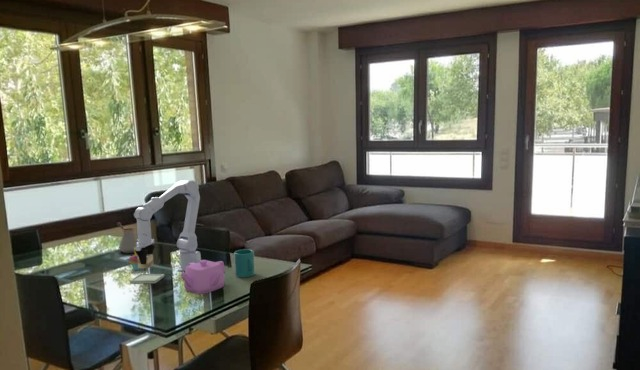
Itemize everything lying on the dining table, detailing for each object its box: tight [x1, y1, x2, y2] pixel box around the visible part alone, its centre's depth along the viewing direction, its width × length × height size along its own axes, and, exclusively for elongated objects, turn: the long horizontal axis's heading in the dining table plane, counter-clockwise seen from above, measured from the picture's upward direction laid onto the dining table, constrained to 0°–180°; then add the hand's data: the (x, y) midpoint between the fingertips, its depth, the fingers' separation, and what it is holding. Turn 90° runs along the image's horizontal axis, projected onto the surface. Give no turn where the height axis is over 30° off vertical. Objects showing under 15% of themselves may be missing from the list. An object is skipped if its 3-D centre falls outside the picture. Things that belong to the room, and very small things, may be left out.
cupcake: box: [128, 247, 144, 271], centre depth 235 cm, size 9×8×12 cm
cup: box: [233, 248, 256, 279], centre depth 220 cm, size 9×12×11 cm
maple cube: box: [137, 253, 155, 269], centre depth 217 cm, size 5×5×5 cm
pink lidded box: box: [180, 259, 226, 296], centre depth 204 cm, size 17×17×12 cm
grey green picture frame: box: [129, 273, 166, 284], centre depth 218 cm, size 12×10×1 cm
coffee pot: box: [117, 221, 138, 254], centre depth 273 cm, size 21×12×15 cm, turn 42°
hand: (146, 262), depth 217 cm, fingers closed on maple cube, 5 cm apart
